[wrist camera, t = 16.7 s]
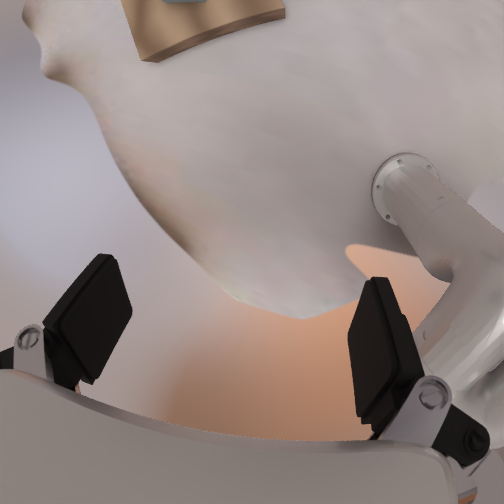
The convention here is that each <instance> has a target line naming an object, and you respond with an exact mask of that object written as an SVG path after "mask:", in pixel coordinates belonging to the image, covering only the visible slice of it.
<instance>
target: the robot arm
mask: <svg viewBox="0 0 504 504" xmlns="http://www.w3.org/2000/svg"><path fill="white" fill-rule="evenodd" d="M398 159H399V161H397V160H398ZM427 165H428V166H427ZM377 185H378V187H376V186H377ZM372 198H373V203H374V205H375V208H376V209H377V211H378V213H379V214H380V216H381V217H382V218H383V219H384V220H385V221H387V222H389V223H390V224H393V225H395V226H399V227H400V229H401V230H402V232H403V233H404V235H405V236H406V238H407V239H408V241H409V243H410V244H411V246H412V247H413V249H414V251H415V252H416V254H417V255H418V257H419V259H420V260H421V262H422V263H423V265H424V267H425V268H426V269H427V271H428V272H429V273H430V274H431V275H432V276H434V277H436V278H437V279H439V280H442V281H445V282H449V283H451V284H450V286H449V287H448V289H447V290H446V291H445V293H444V294H443V296H442V298H441V299H440V300H439V302H438V303H437V304H436V306H435V307H434V308H433V309H432V310H431V312H430V313H429V314H428V315H427V316H426V318H425V319H424V320H423V321H422V322H421V324H420V325H419V326H418V327H417V328H416V330H415V331H414V332H413V333H412V332H411V329H410V326H409V324H408V321H407V318H406V316H405V315H404V314H402V313H401V310H400V308H399V305H398V302H397V300H396V297H395V294H394V292H393V289H392V287H391V284H390V282H389V280H388V278H385V277H372V278H371V279H370V280H367V281H366V282H365V285H364V288H363V291H362V294H361V297H360V300H359V303H358V306H357V309H356V312H355V314H354V318H353V320H352V323H351V326H350V328H349V331H348V346H349V353H350V361H351V368H352V377H353V385H354V395H355V405H356V414H357V417H361V424H371V428H372V431H373V433H372V434H371V435H370V437H369V438H368V439H367V440H364V441H293V440H275V439H262V438H252V437H244V436H236V435H229V434H221V433H216V432H210V431H204V430H198V429H193V428H189V427H184V426H180V425H175V424H171V423H167V422H163V421H159V420H155V419H152V418H148V417H144V416H141V415H138V414H134V413H131V412H128V411H125V410H122V409H119V408H116V407H113V406H110V405H107V404H104V403H102V402H99V401H96V400H94V399H91V398H88V397H86V396H83V395H81V392H80V388H79V381H80V379H81V380H82V381H83V382H85V383H88V384H91V385H93V383H94V381H95V379H98V378H99V376H100V375H101V372H102V370H103V369H104V367H105V365H106V363H107V361H108V359H109V357H110V355H111V353H112V351H113V349H114V347H115V345H116V344H117V342H118V340H119V338H120V336H121V334H122V333H123V331H124V329H125V327H126V325H127V324H128V322H129V320H130V318H131V316H132V306H131V303H130V300H129V298H128V295H127V291H126V288H125V285H124V282H123V279H122V275H121V272H120V269H119V266H118V262H117V260H116V259H114V257H113V256H112V255H110V254H98V255H97V256H96V257H95V258H94V259H93V260H92V261H91V263H90V264H89V265H88V266H87V267H86V268H85V269H84V271H83V272H82V273H81V274H80V275H79V276H78V277H77V279H76V280H75V281H74V282H73V283H72V285H71V286H70V287H69V288H68V289H67V291H66V292H65V293H64V294H63V296H62V297H61V298H60V299H59V301H58V302H57V303H56V305H55V306H54V307H53V308H52V310H51V311H50V312H49V314H48V315H47V316H46V318H45V319H44V320H43V322H42V323H43V324H44V326H45V328H44V329H42V328H41V327H40V326H38V325H34V324H32V325H28V326H26V327H24V328H23V329H22V330H20V332H19V333H18V334H17V336H16V338H15V342H14V346H13V347H11V348H9V349H6V350H4V351H1V352H0V504H504V462H503V460H502V459H501V457H500V456H499V455H498V453H497V452H496V450H495V448H500V447H502V446H504V360H503V361H502V362H501V363H500V364H499V365H498V366H497V367H496V368H495V369H494V370H492V371H490V370H491V369H492V368H493V367H494V366H495V365H497V364H498V363H499V362H500V361H501V360H502V359H503V358H504V233H503V232H502V231H500V230H499V229H498V228H496V227H495V226H494V225H492V224H491V223H490V222H489V221H488V220H486V219H485V218H484V217H483V216H482V215H481V214H479V213H478V212H477V211H476V210H475V209H474V208H473V207H471V206H470V205H469V204H468V203H467V202H465V201H464V200H463V199H462V198H461V197H459V196H458V195H457V194H456V193H455V192H453V191H452V190H451V189H450V188H448V187H447V186H446V185H445V184H443V183H442V182H441V181H440V180H439V176H438V174H437V171H436V169H435V168H434V167H433V165H432V164H431V163H430V162H429V161H428V160H426V159H425V158H423V157H421V156H419V155H417V154H412V153H403V154H398V155H396V156H394V157H391V158H390V159H389V160H387V161H386V162H385V163H384V164H383V165H382V166H381V167H380V169H379V170H378V172H377V173H376V176H375V178H374V181H373V185H372ZM386 215H387V216H386ZM489 371H490V372H489ZM490 449H492V450H490Z"/></svg>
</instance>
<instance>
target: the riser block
mask: <svg viewBox="0 0 504 504" xmlns="http://www.w3.org/2000/svg"><path fill="white" fill-rule="evenodd" d="M121 2H122V5H123V8H124V11H125V15H126V18H127V21H128V24H129V27H130V30H131V33H132V36H133V39H134V42H135V45H136V47H137V50H138V53H139V56H140V59H141V61H147V62H156V63H158V62H160V61H162V60H165V59H167V58H169V57H171V56H173V55H175V54H178V53H180V52H182V51H184V50H187V49H189V48H191V47H194V46H196V45H199V44H201V43H204V42H207V41H209V40H212V39H215V38H217V37H220V36H223V35H226V34H229V33H232V32H235V31H238V30H242V29H245V28H248V27H252V26H255V25H259V24H263V23H267V22H271V21H275V20H279V19H284V18H285V7H284V4H283V2H282V0H206V2H182V3H165V2H163V1H162V0H121Z"/></svg>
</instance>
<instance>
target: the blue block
mask: <svg viewBox="0 0 504 504" xmlns="http://www.w3.org/2000/svg"><path fill="white" fill-rule="evenodd" d="M162 1H163V2H165V3H182V2H206V0H162Z"/></svg>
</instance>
